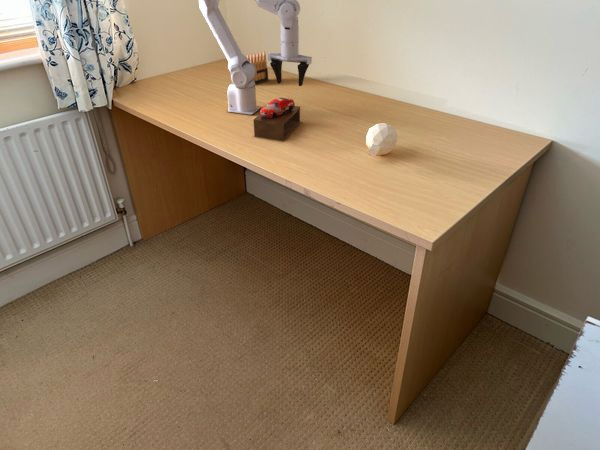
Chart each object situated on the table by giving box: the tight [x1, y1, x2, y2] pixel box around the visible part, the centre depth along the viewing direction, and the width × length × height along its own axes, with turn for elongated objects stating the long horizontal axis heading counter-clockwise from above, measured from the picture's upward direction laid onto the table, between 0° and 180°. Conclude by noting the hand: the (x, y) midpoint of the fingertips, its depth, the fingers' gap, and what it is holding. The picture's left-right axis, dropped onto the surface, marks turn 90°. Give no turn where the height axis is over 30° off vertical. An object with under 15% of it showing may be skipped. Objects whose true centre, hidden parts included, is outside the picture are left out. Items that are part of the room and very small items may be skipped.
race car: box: [259, 97, 296, 118], centre depth 136 cm, size 13×5×4 cm, turn 140°
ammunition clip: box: [246, 50, 269, 85], centre depth 179 cm, size 11×2×12 cm, turn 137°
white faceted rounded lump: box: [365, 122, 398, 158], centre depth 123 cm, size 9×9×12 cm
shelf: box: [253, 105, 301, 142], centre depth 139 cm, size 10×16×6 cm, turn 160°
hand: (290, 84), depth 146 cm, fingers open, 7 cm apart
